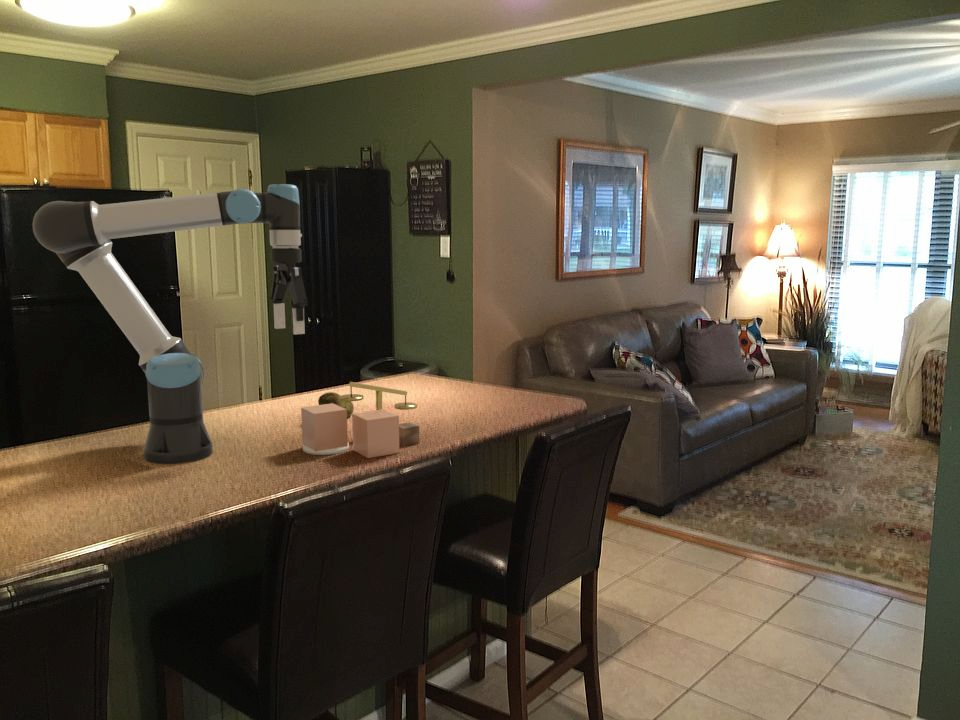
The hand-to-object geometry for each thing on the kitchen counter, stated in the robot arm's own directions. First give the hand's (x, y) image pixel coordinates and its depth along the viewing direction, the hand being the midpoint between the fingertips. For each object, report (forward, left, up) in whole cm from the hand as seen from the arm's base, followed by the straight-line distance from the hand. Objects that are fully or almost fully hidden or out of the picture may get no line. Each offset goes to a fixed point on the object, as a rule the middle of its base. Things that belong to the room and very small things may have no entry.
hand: (289, 331), depth 206 cm
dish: (+1, -19, -27) cm, 33 cm away
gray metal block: (+20, -25, -27) cm, 42 cm away
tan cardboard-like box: (+10, -28, -27) cm, 40 cm away
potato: (+16, +8, -27) cm, 33 cm away
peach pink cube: (+1, -19, -26) cm, 32 cm away
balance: (+18, -14, -27) cm, 35 cm away
